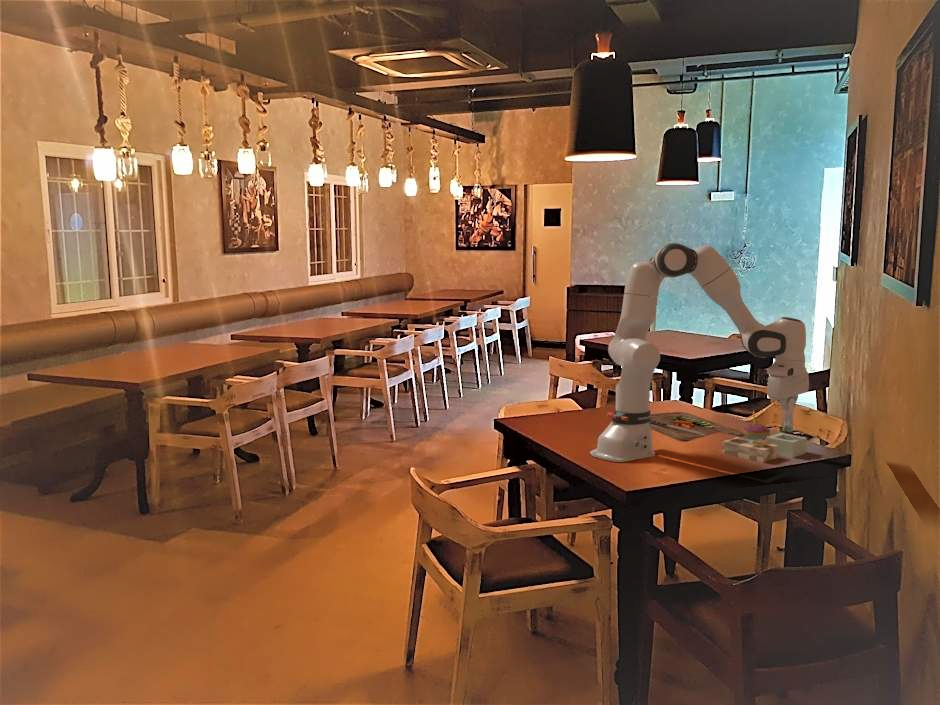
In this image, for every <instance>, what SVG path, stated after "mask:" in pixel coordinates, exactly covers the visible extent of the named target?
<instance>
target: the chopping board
mask: <svg viewBox="0 0 940 705" xmlns="http://www.w3.org/2000/svg"><path fill="white" fill-rule="evenodd" d="M650 415H651V417H650V422H649V425H650V428H651V431H654V430H655V432H657V433H660V434H662V435H663V436H664V435H665V436H666V435H667V437H669V438H672V439H673V440H677V441H679V442H684V443H685V442H691V441H694V440H698V439H701V438H703V437H708V436H712V435H715V434H718V433H721V434H726V435H731V436H735V437H742V436H744V431H740V430H737V429H734V428H732V427H729V426H726V425H723V424H720V423H717V422H714V421H711V420H710V419H706V418H704V417H703V418H702V417H701V416H697V415H695V414H691V413H688V412H685V411H673V412H670V411H668V412H667V411H665V412H657V413H656V412H655V413H650ZM735 433H737V434H735ZM741 435H742V436H741Z"/></svg>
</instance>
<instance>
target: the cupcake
mask: <svg viewBox="0 0 940 705" xmlns="http://www.w3.org/2000/svg"><path fill="white" fill-rule="evenodd" d="M752 418H753V420H752V421H753V423H751V424H747V425H746V426H745V427H744V428H743V435H745V437H746V439H750V440H758V439H761V440H766V439H767V437H769V436H771V431H770V429H769V428H768V426H766V425H765V424H759V423H757V422H756V411H755V409H754V408H753V410H752Z"/></svg>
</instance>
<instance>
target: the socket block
mask: <svg viewBox="0 0 940 705" xmlns="http://www.w3.org/2000/svg"><path fill="white" fill-rule="evenodd" d="M752 441H755V440H750V439H747V438H744V437H741V436H735V437H733V438H732V437H731V438H730V439H727V440H723V441H722V444H721V454H723V455H727V456H729V457H730V456H731V457H736V458H740V459H745V460H749V461H752V462H753V461H754V462H757V463H762V464H763V463H767V462H769V461H772V460H775V459H777V458H778V457H779V455H778V445H775V444H770V443H769V445H767V446H765V447H757V446H755V445H752Z"/></svg>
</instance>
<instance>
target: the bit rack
mask: <svg viewBox="0 0 940 705" xmlns="http://www.w3.org/2000/svg"><path fill="white" fill-rule="evenodd" d="M765 440H766V441H770V444H775V445H778V456H780V457H781V456H782V457H787V458H791V459H794V458H796V457H798V456H802V455H804V454H806V453H807V448H808V447H807V446H808V445H807V444H808V438H807V437H805V436H800V435H793V434H789V433H785V432H779V433H776V434H773V435H769V436H766V439H765Z"/></svg>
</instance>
